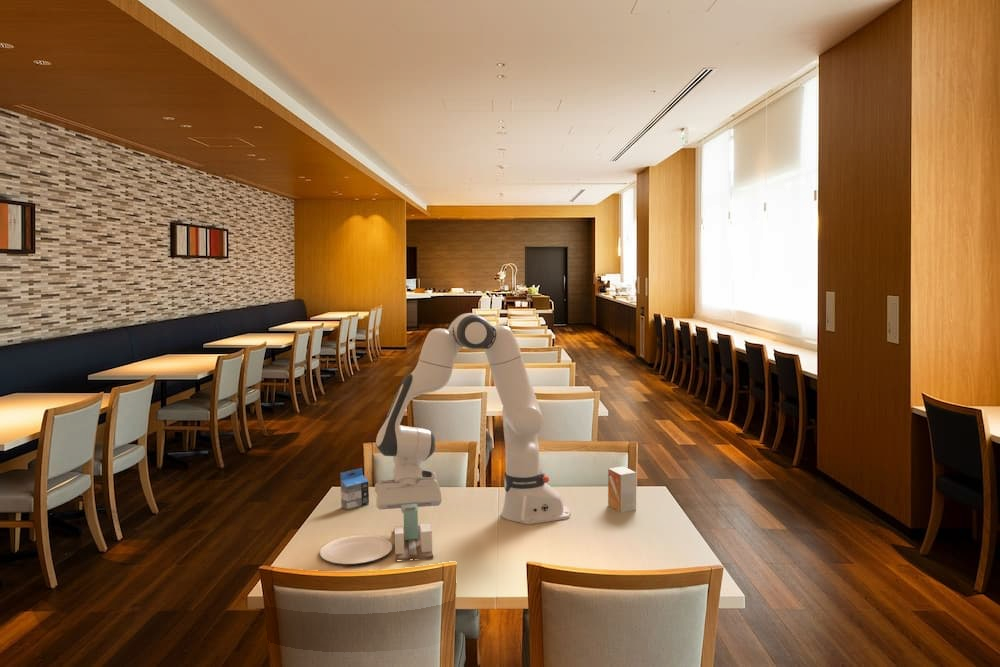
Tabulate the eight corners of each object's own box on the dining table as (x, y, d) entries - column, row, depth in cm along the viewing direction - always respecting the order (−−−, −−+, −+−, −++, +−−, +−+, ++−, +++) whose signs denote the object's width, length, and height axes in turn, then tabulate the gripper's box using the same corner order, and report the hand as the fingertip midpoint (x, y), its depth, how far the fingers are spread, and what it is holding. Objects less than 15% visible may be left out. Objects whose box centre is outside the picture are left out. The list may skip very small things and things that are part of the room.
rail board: (427, 528, 237) (427, 524, 237) (433, 558, 214) (432, 554, 213) (393, 530, 235) (393, 526, 235) (395, 561, 212) (395, 557, 212)
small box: (607, 505, 256) (607, 468, 255) (623, 502, 259) (623, 465, 257) (620, 512, 249) (620, 474, 247) (636, 510, 251) (636, 472, 250)
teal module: (417, 531, 230) (416, 501, 229) (418, 538, 224) (417, 507, 223) (404, 532, 230) (403, 502, 229) (404, 539, 224) (403, 508, 223)
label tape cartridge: (346, 510, 255) (345, 475, 253) (341, 507, 258) (339, 472, 256) (369, 504, 260) (368, 469, 259) (363, 501, 263) (362, 467, 262)
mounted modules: (430, 543, 222) (430, 523, 222) (432, 551, 216) (431, 531, 216) (394, 546, 221) (394, 526, 220) (395, 554, 215) (394, 533, 214)
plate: (346, 536, 232) (346, 531, 232) (405, 545, 224) (405, 540, 224) (304, 562, 213) (304, 556, 213) (367, 573, 205) (367, 567, 205)
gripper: (374, 476, 235) (375, 517, 226) (440, 472, 238) (443, 512, 229) (375, 485, 239) (375, 526, 231) (439, 481, 243) (442, 521, 234)
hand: (410, 519), depth 230 cm, fingers closed, pressing on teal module
